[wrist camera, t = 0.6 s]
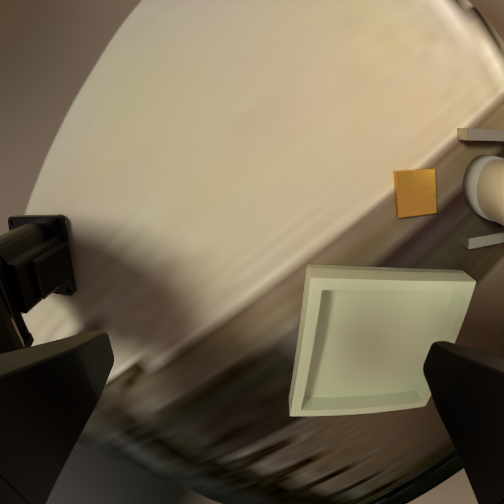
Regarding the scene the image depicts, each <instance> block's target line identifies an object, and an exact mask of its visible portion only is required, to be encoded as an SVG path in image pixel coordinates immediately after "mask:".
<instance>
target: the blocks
mask: <svg viewBox="0 0 504 504" xmlns="http://www.w3.org/2000/svg"><path fill="white" fill-rule="evenodd" d="M457 133H458V140H481V141H504V130H493V129H470V128H457ZM393 174H394V186H395V202H396V217H398V218H403V217H410V216H418V215H425V214H433V213H436V180H435V169H433V168H428V169H415V170H402V171H393ZM503 242H504V226H503V227H497V228H491V229H485V230H479V231H473V232H467V233H461V235H460V244H461V245H463V246H464V247H466V248H467V249H473V248H478V247H483V246H488V245H493V244H498V243H503Z"/></svg>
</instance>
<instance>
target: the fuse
mask: <svg viewBox="0 0 504 504" xmlns="http://www.w3.org/2000/svg"><path fill="white" fill-rule="evenodd" d="M463 193H464V198H465V201H466V203H467V205H468V207H469V208H470V210H471V211H472V212H474V213H475V214H477V215H479V216H481V217H483V218H485V219H488V220H490V221H494V222H497V223H499V224H501V225H503V226H504V159H503V158H501V157H496V156H490V155H480V156H477V157H476V158H474V159H473V160H472V161H471V162H470V164H469V165H468V167H467V169H466V172H465V175H464V180H463Z"/></svg>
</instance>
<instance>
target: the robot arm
mask: <svg viewBox="0 0 504 504" xmlns="http://www.w3.org/2000/svg"><path fill="white" fill-rule="evenodd" d="M58 220H59V222H60V224H59V223H58ZM8 224H9V231H8V232H6V233H4V234H2V235H0V504H46V502H47V500H48V498H49V496H50V493H51V491H52V489H53V487H54V485H55V483H56V481H57V479H58V477H59V475H60V473H61V471H62V469H63V467H64V465H65V463H66V461H67V459H68V457H69V455H70V453H71V451H72V449H73V447H74V445H75V443H76V442H77V440H78V438H79V436H80V434H81V432H82V430H83V428H84V427H85V425H86V423H87V421H88V419H89V417H90V416H91V414H92V412H93V410H94V408H95V406H96V404H97V402H98V400H99V398H100V396H101V393H102V391H103V388H104V386H105V383H106V381H107V379H108V376H109V374H110V371H111V369H112V367H113V363H114V355H113V351H112V347H111V344H110V340H109V336H108V334H107V333H106V332H101V331H90V332H86V333H83V334H79V335H75V336H71V337H67V338H64V339H60V340H56V341H52V342H48V343H44V344H40V345H36V346H32V347H31V345H32V343H33V341H34V339H33V337H32V335H31V333H29V331H28V329H27V326H26V324H25V322H24V320H23V317H22V314H23V313H27V312H29V311H30V310H31V309H32V308H33V307H34V306H35V305H37V304H38V303H39V302H40V301H41V300H42V299H45V298H47V297H48V296H49V295H50V294H51V293H56V294H63V295H69V296H72V295H73V294H74V293H75V292H76V285H75V280H74V275H73V269H72V264H71V258H70V252H69V246H68V240H67V232H66V225H65V219H64V217H63V216H62V215H20V216H19V215H17V216H11V217H9V219H8ZM69 288H70V289H71V290H70V289H69ZM423 373H424V376H425V379H426V381H427V384H428V387H429V389H430V392H431V395H432V397H433V400H434V403H435V405H436V408H437V410H438V413H439V415H440V417H441V419H442V421H443V423H444V425H445V427H446V429H447V431H448V434H449V436H450V438H451V440H452V442H453V444H454V447H455V449H456V451H457V453H458V456H459V458H460V460H461V462H462V465H463V467H464V469H465V472H466V474H467V477H468V479H469V481H470V484H471V486H472V489H473V491H474V494H475V497H476V499H477V502H478V504H504V358H500V357H497V356H493V355H490V354H487V353H483V352H480V351H477V350H473V349H470V348H467V347H464V346H460V345H457V344H454V343H450V342H447V341H437V342H434V343H432V345H431V347H430V349H429V352H428V354H427V357H426V359H425V362H424V365H423Z"/></svg>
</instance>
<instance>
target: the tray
mask: <svg viewBox="0 0 504 504" xmlns="http://www.w3.org/2000/svg"><path fill="white" fill-rule="evenodd" d="M475 284H476V281H475V280H474V279H473V278H471V277H470V276H469V275H468V274H466V273H465V272H464V271H463V270H442V269H413V268H386V267H361V266H337V265H314V264H307V267H306V276H305V285H304V294H303V302H302V310H301V318H300V326H299V334H298V341H297V348H296V355H295V362H294V369H293V375H292V382H291V388H290V394H289V411H290V416H333V415H352V414H366V413H377V412H386V411H395V410H403V409H410V408H417V407H424V406H426V404H427V402H428V400H429V398H430V396H431V392H430V389H429V387H428V384H427V381H426V379H425V376H424V373H423V365H424V362H425V359H426V357H427V354H428V352H429V349H430V347H431V345H432V343H434V342H437V341H447V342H450V343H454V344H455V341H456V339H457V336H458V334H459V331H460V329H461V326H462V323H463V321H464V318H465V315H466V312H467V309H468V306H469V303H470V300H471V297H472V294H473V291H474V287H475Z"/></svg>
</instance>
